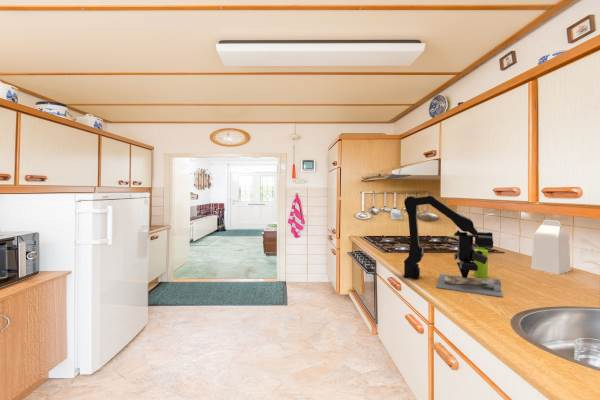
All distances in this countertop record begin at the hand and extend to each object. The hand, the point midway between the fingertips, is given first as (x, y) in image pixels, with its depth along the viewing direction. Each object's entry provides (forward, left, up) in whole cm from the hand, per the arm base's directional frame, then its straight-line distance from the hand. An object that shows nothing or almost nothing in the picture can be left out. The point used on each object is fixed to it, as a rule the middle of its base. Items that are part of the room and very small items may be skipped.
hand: (464, 279), depth 132 cm
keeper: (+10, -5, -2) cm, 11 cm away
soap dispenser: (+7, +15, -2) cm, 17 cm away
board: (+1, -2, -2) cm, 3 cm away
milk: (+39, +45, -2) cm, 59 cm away
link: (0, -2, -1) cm, 3 cm away
